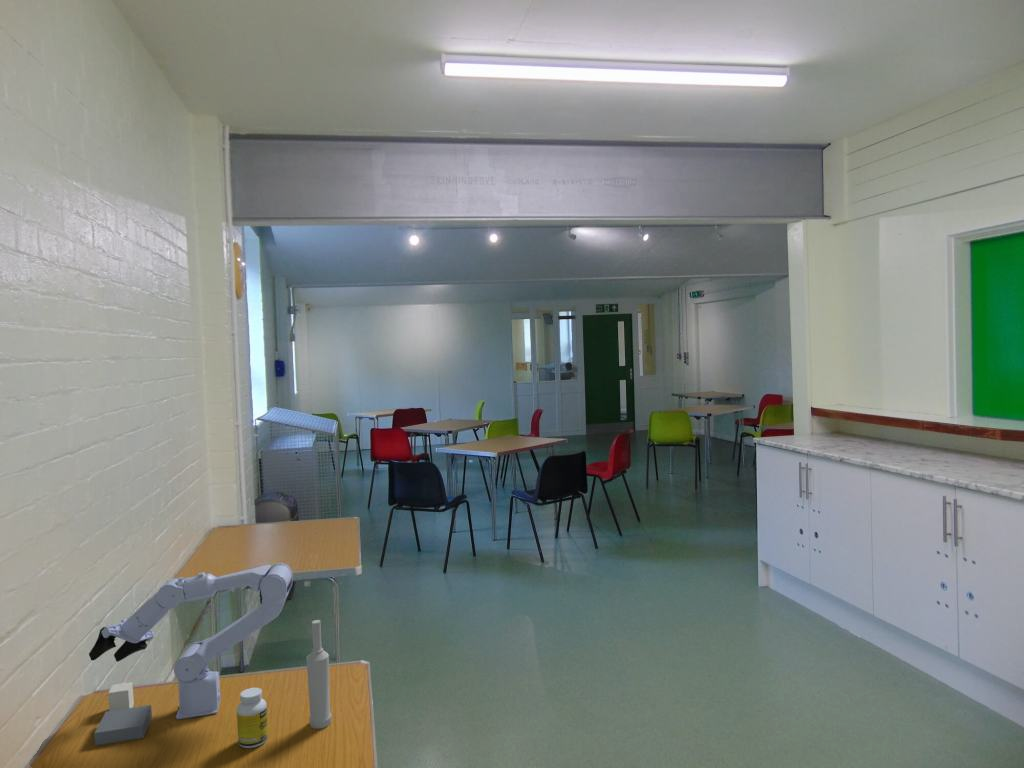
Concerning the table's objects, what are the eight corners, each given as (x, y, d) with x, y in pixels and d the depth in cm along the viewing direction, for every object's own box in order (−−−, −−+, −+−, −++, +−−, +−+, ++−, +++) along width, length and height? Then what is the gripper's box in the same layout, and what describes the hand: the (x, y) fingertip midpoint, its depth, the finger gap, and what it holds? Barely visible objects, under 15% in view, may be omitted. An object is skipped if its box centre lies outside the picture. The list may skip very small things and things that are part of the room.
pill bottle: (258, 750, 160) (256, 700, 159) (232, 748, 161) (229, 698, 161) (273, 735, 166) (271, 686, 166) (248, 732, 168) (246, 684, 167)
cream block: (133, 704, 182) (132, 681, 182) (129, 713, 178) (128, 690, 178) (114, 707, 181) (112, 684, 181) (109, 716, 177) (108, 693, 176)
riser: (151, 716, 176) (151, 704, 176) (143, 737, 166) (142, 725, 166) (106, 723, 173) (105, 711, 173) (95, 745, 164) (94, 733, 164)
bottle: (336, 722, 171) (331, 621, 169) (317, 731, 167) (312, 627, 166) (324, 715, 174) (319, 615, 173) (305, 724, 171) (300, 622, 169)
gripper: (160, 609, 184) (121, 646, 184) (116, 603, 172) (73, 643, 171) (171, 630, 181) (131, 668, 180) (126, 625, 168) (83, 666, 168)
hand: (103, 657), depth 175 cm, fingers open, 7 cm apart
